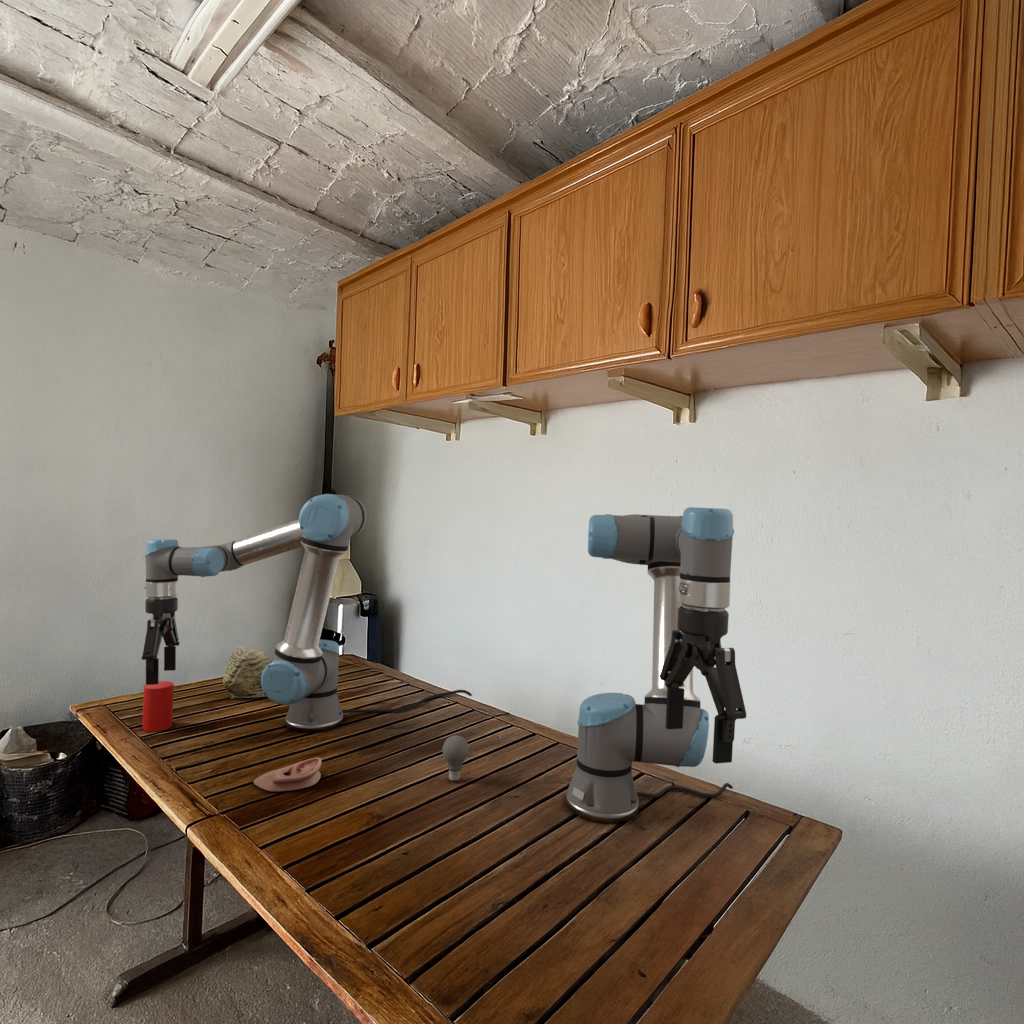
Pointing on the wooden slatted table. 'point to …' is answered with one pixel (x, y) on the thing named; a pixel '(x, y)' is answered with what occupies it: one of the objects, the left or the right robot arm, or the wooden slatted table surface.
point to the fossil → (245, 672)
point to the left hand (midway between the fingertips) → (161, 677)
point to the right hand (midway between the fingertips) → (696, 744)
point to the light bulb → (455, 755)
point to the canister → (158, 706)
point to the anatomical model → (291, 776)
